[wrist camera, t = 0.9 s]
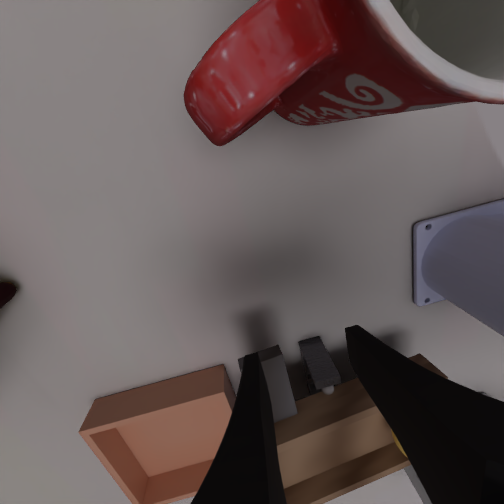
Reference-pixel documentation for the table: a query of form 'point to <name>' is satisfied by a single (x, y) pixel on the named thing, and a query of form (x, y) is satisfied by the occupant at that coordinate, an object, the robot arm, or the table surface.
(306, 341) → the seesaw stand
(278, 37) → the mug
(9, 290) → the decorative lantern
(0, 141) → the table surface
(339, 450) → the brown wooden tray
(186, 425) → the tray
